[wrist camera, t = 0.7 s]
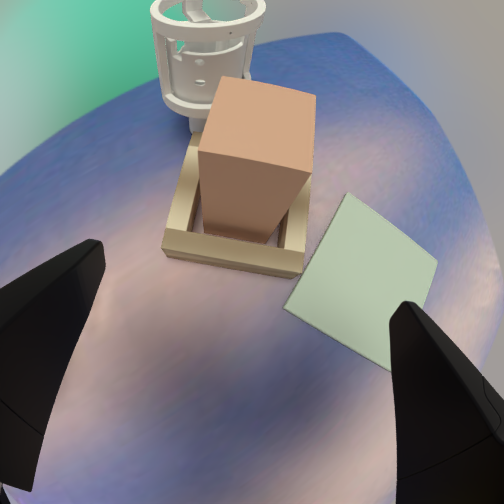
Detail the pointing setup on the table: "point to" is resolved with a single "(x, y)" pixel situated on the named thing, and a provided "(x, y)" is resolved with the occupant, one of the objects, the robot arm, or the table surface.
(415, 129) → the table surface
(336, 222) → the mat
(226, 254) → the pocket frame
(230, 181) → the block
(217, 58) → the white flanged cylinder housing
